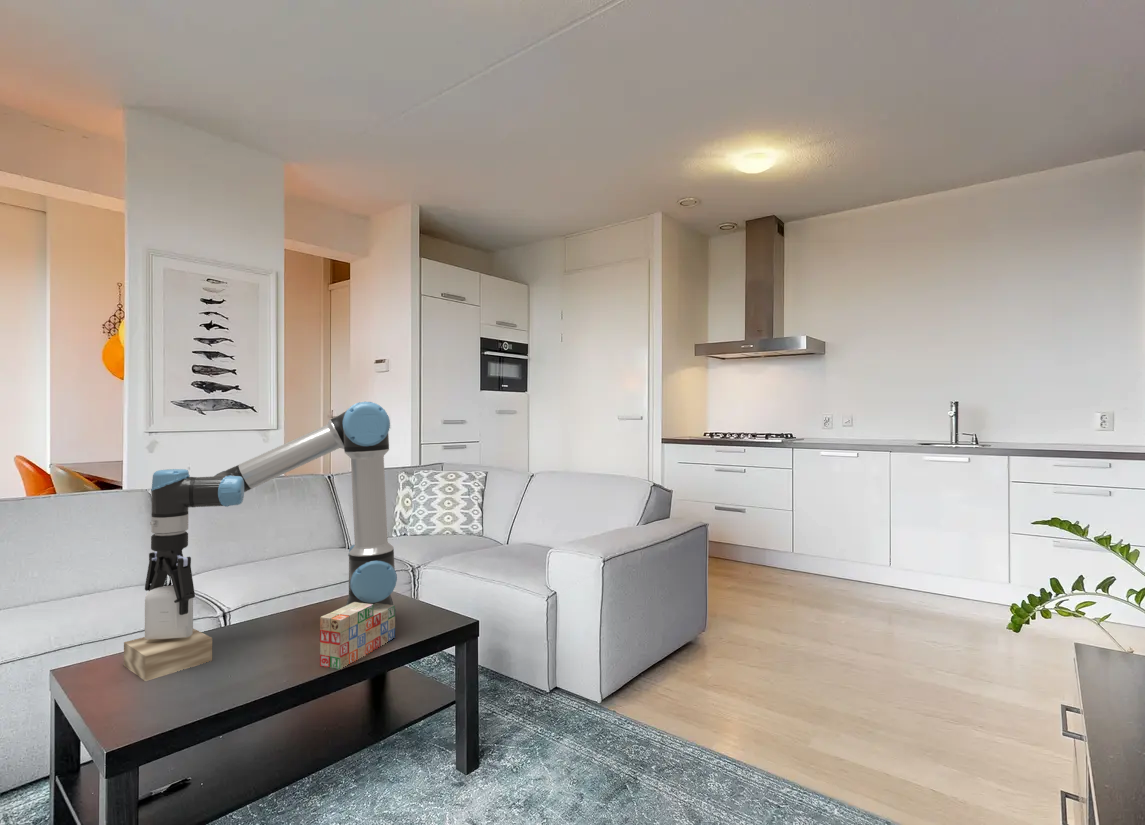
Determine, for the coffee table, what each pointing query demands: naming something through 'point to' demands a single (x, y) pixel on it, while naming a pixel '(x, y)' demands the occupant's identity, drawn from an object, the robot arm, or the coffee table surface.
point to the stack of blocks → (354, 632)
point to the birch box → (166, 654)
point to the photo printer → (164, 615)
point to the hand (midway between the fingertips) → (169, 623)
